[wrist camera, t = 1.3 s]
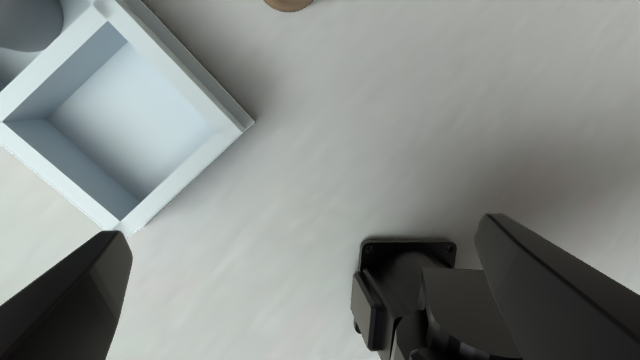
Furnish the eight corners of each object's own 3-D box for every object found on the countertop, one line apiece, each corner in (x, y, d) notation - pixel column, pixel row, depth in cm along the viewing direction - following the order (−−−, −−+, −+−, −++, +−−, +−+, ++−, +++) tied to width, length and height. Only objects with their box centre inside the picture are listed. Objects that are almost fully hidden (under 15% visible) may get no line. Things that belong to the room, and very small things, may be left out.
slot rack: (255, 122, 20) (253, 125, 16) (142, 227, 20) (114, 254, 16) (27, -121, 16) (-45, -190, 12) (-109, 12, 16) (-220, -16, 13)
